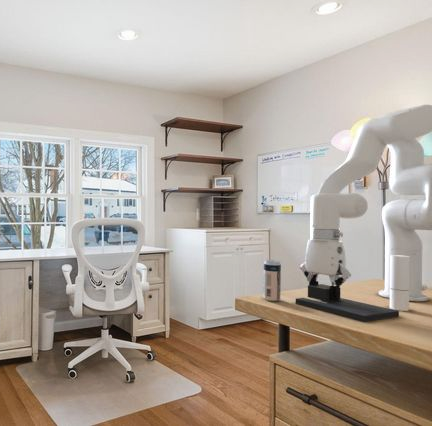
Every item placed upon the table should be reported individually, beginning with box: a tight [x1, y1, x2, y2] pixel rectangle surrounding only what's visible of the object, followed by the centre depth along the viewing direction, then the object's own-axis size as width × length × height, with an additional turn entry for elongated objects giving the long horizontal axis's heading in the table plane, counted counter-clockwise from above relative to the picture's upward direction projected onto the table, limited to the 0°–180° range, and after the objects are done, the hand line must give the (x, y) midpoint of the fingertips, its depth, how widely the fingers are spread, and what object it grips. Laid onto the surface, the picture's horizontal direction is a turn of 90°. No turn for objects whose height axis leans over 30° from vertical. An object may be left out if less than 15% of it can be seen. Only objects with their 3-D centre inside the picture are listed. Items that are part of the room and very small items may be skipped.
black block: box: [307, 283, 341, 303], centre depth 110 cm, size 6×6×4 cm
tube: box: [389, 255, 410, 312], centre depth 106 cm, size 4×4×15 cm
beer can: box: [262, 259, 282, 302], centre depth 115 cm, size 5×5×12 cm
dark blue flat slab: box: [295, 297, 400, 323], centre depth 105 cm, size 14×20×2 cm
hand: (323, 296), depth 110 cm, fingers closed on black block, 5 cm apart
